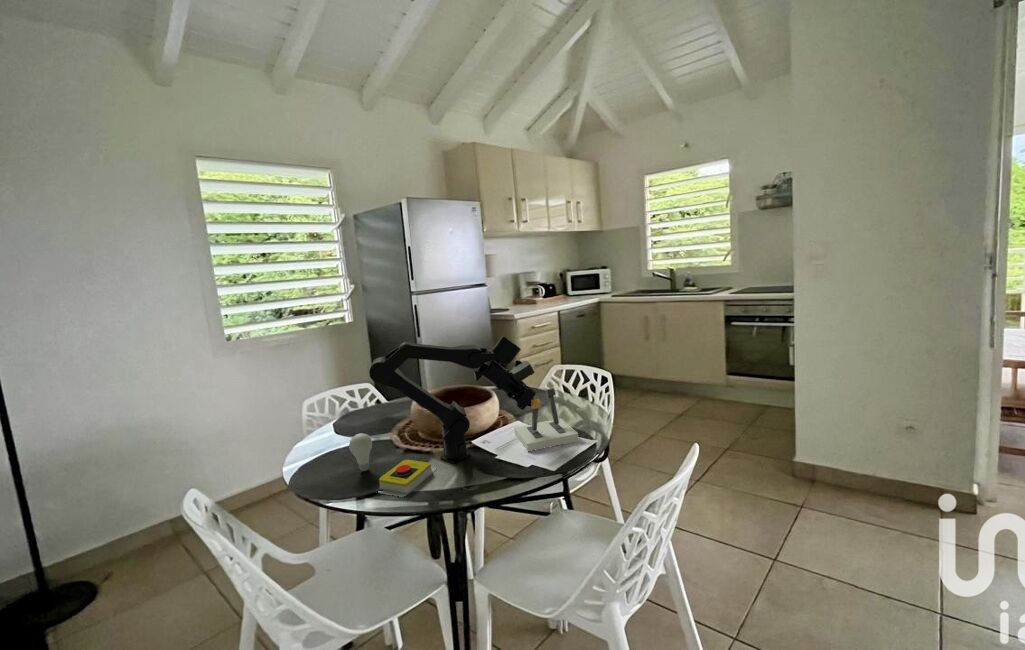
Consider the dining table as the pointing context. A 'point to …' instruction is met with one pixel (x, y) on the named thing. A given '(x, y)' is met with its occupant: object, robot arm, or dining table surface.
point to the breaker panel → (546, 430)
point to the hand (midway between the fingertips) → (537, 405)
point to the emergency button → (405, 477)
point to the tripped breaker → (535, 412)
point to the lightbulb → (361, 450)
